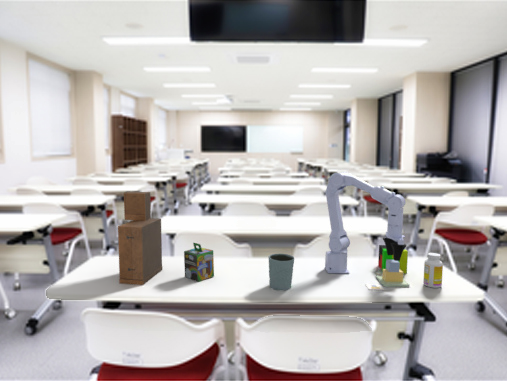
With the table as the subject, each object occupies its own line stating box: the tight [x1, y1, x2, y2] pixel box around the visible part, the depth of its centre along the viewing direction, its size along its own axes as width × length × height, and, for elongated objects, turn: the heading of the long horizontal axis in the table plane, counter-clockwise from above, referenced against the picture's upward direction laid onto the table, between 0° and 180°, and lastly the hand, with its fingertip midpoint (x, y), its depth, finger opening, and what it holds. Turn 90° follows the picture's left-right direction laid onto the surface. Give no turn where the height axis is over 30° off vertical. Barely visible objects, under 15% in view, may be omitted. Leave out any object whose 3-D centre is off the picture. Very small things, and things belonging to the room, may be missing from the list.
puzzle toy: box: [377, 244, 409, 274], centre depth 169 cm, size 10×10×10 cm
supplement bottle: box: [423, 252, 444, 289], centre depth 149 cm, size 7×7×13 cm
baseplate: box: [375, 275, 410, 288], centre depth 153 cm, size 10×10×1 cm
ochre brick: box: [381, 269, 404, 282], centre depth 153 cm, size 7×4×4 cm, turn 90°
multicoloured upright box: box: [183, 242, 215, 283], centre depth 157 cm, size 9×9×15 cm
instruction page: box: [365, 284, 386, 291], centre depth 147 cm, size 6×5×1 cm
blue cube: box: [386, 260, 400, 272], centre depth 152 cm, size 4×4×4 cm
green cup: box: [268, 253, 295, 291], centre depth 147 cm, size 10×10×12 cm
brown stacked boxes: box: [117, 191, 163, 286], centre depth 156 cm, size 19×14×35 cm
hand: (393, 257), depth 152 cm, fingers open, 7 cm apart
